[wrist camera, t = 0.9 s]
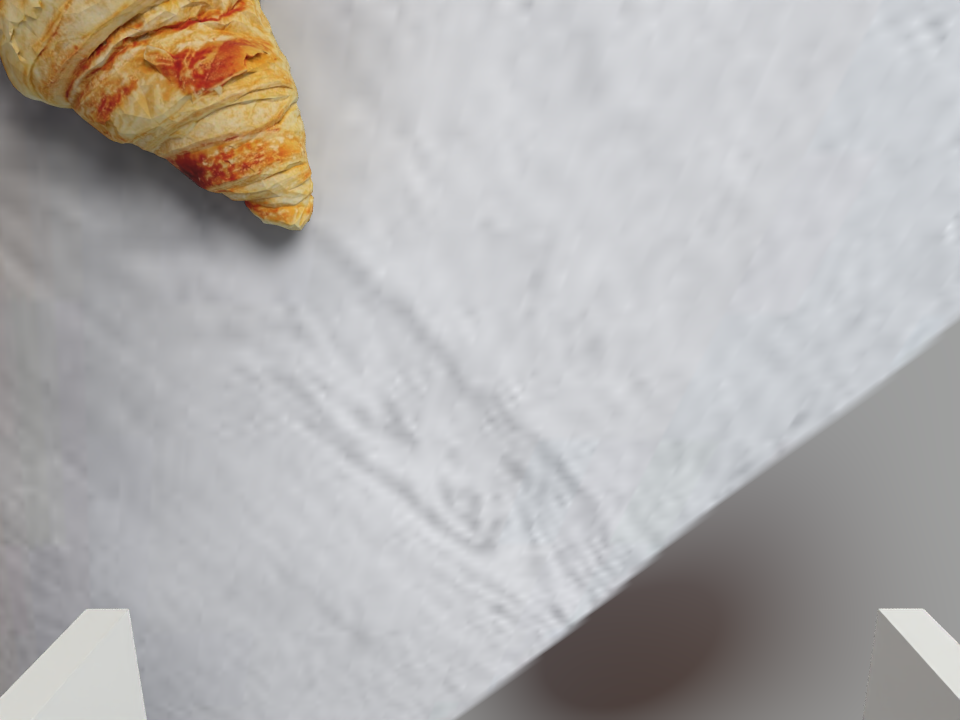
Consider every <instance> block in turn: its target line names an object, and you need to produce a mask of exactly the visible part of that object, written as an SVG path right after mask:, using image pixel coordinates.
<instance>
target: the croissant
mask: <svg viewBox="0 0 960 720" xmlns="http://www.w3.org/2000/svg"><path fill="white" fill-rule="evenodd" d="M259 1H260V0H0V57H1V60H2V63H3V66H4V68H5V71H6V73H7V75H8V77H9V79H10V81H11V83H12V85H13V86H14V87H15V88H16V89H17V90H18V91H19V92H21V93H22V94H23V95H24V96H25V97H28V98H30V99H32V100H39V101H42V102H44V103H46V104H48V105H52V106H56V107H60V108H71V109H74V111H75V112H76V113H77V114H78V115H80V116H81V117H82V118H83V119H84V120H85V121H86V122H88V123H89V124H90V125H92V126H93V127H94V128H95V129H97V130H98V131H99V132H101V133H102V134H103V135H104V136H106V137H107V138H109V139H110V140H112V141H114V142H119V143H121V144H123V143H132V144H134V145H136V146H139V147H140V148H141V149H143V150H146V151H149V152H152V153H154V154H156V155H157V156H159V157H162V158H165V159H167V160H168V161H169V162H170V163H171V164H172V165H174V166H175V167H176V168H177V169H179V170H180V171H181V172H182V173H184V174H185V175H186V176H187V177H188V178H190V179H191V180H192V181H193V182H194V183H196V184H197V185H198V186H199V187H202V188H204V189H206V190H208V191H210V192H215V193H223V194H224V195H226V196H227V197H228V198H230V199H231V200H234V201H245V205H246V206H247V207H248V208H249V210H250V211H251V212H252V213H253V214H254V215H255V216H256V217H258V218H260V220H261V221H262V222H263V223H264V224H273V225H278V226H281V227H284V228H286V229H289V230H302V228H303V227H304V226H305V224H306V223H307V222H309V220H310V217H311V215H312V212H313V199H314V197H313V196H312V195H311V193H312V192H313V183H312V181H311V169H310V167H309V164H308V159H307V153H306V148H305V141H306V136H305V130H304V124H303V121H302V119H301V116H300V111H299V109H298V107H297V104H296V103H297V100H298V93H297V88H296V86H295V83H294V81H293V78H292V76H291V74H290V66H289V64H288V61H287V59H286V57H285V56H284V55H283V53H282V52H281V51H280V49H279V47H278V44H277V42H276V40H275V38H274V36H273V33H272V30H271V27H270V24H269V22H268V20H267V18H266V17H265V15H264V13H263V12H262V10H261V7H260V3H259Z"/></svg>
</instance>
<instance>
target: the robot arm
mask: <svg viewBox="0 0 960 720" xmlns="http://www.w3.org/2000/svg"><path fill="white" fill-rule="evenodd" d="M0 720H147V719H146V713H145V707H144V700H143V694H142V688H141V682H140V675H139V669H138V663H137V657H136V651H135V644H134V638H133V632H132V626H131V619H130V613H129V609H86V610H85V611H84V612H83V613H82V614H81V615H80V616H79V617H78V618H77V619H76V620H75V621H74V622H73V623H72V624H71V625H70V626H69V627H68V629H67V630H66V631H65V632H64V633H63V634H62V635H61V636H60V637H59V638H58V639H57V640H56V641H55V642H54V643H53V644H52V645H51V646H50V647H49V648H48V649H47V650H46V651H45V652H44V653H43V654H42V655H41V656H40V657H39V658H38V659H37V660H36V661H35V662H34V664H33V665H32V666H31V667H30V668H29V669H28V670H27V671H26V672H25V673H24V674H23V675H22V676H21V677H20V678H19V679H18V680H17V681H16V682H15V683H14V684H13V685H12V686H11V687H10V688H9V689H8V690H7V691H6V692H5V693H4V694H3V695H2V696H1V697H0ZM863 720H960V645H959V644H958V643H957V642H956V641H955V640H954V639H953V638H952V637H951V636H950V635H949V634H948V633H947V632H946V631H945V630H944V629H943V628H942V627H941V626H940V625H939V624H938V623H937V622H936V621H935V620H934V619H933V618H932V617H931V616H930V615H929V614H928V613H927V612H926V611H925V610H924V609H878V614H877V621H876V628H875V635H874V643H873V650H872V657H871V664H870V671H869V678H868V685H867V693H866V700H865V707H864V714H863Z"/></svg>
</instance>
